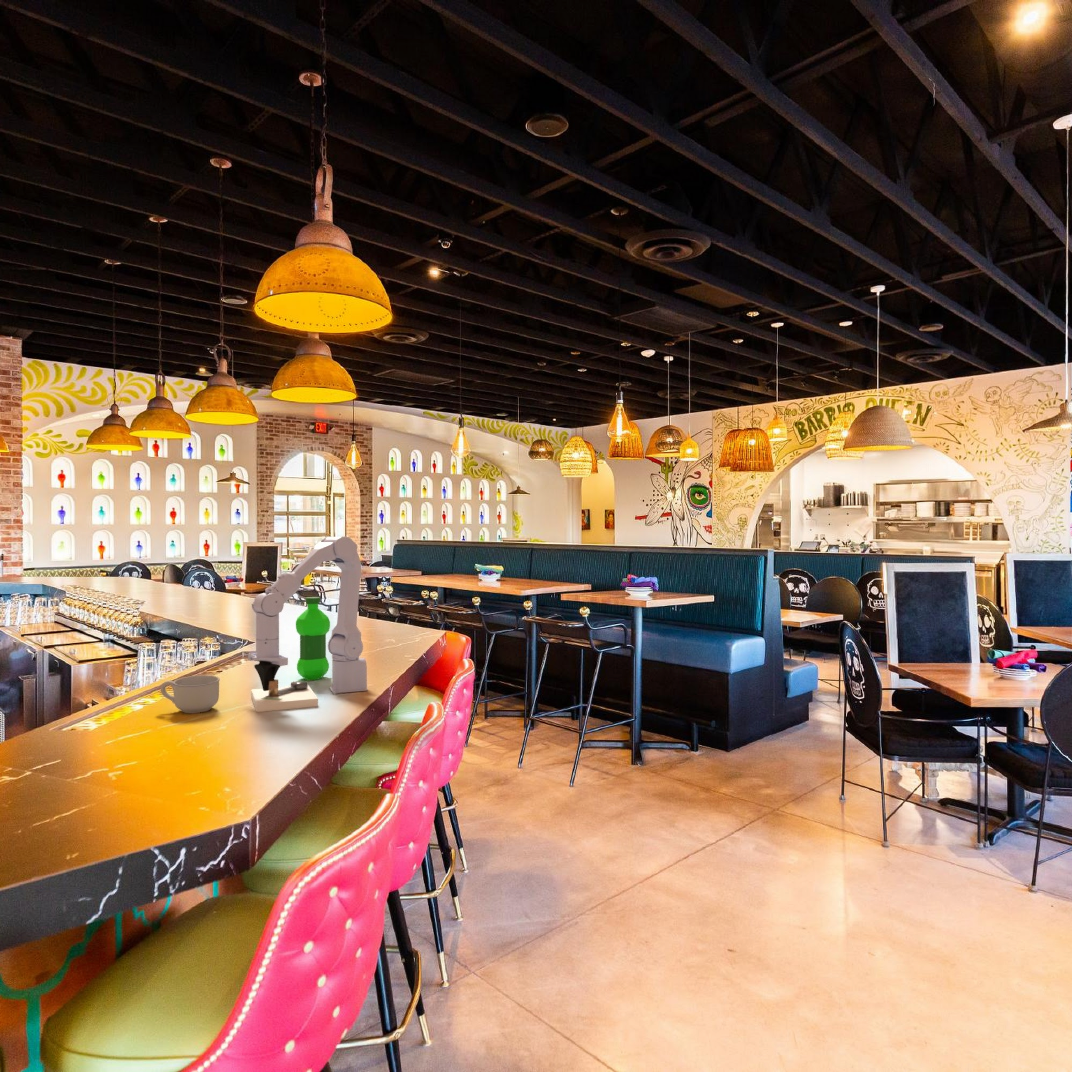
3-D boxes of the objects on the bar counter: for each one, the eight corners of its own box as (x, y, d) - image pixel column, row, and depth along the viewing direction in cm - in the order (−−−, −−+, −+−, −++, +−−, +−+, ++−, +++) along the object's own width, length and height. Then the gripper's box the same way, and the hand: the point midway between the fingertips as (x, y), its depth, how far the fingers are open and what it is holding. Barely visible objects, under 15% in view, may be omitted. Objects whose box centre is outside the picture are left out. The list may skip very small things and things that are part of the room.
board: (308, 691, 207) (308, 684, 207) (318, 706, 190) (317, 698, 190) (251, 696, 201) (251, 689, 201) (256, 712, 183) (256, 703, 183)
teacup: (227, 706, 190) (227, 675, 190) (204, 716, 179) (204, 683, 179) (177, 704, 191) (177, 674, 191) (151, 715, 181) (151, 682, 181)
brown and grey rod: (298, 685, 204) (298, 671, 204) (311, 687, 202) (311, 672, 202) (259, 696, 190) (259, 681, 190) (272, 698, 189) (272, 682, 189)
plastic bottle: (288, 680, 223) (288, 598, 223) (308, 674, 233) (308, 595, 233) (317, 682, 220) (317, 599, 220) (336, 676, 230) (336, 596, 230)
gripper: (237, 638, 194) (237, 689, 194) (271, 643, 186) (271, 696, 186) (261, 635, 200) (261, 685, 200) (294, 639, 191) (294, 691, 191)
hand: (267, 690), depth 193 cm, fingers closed
